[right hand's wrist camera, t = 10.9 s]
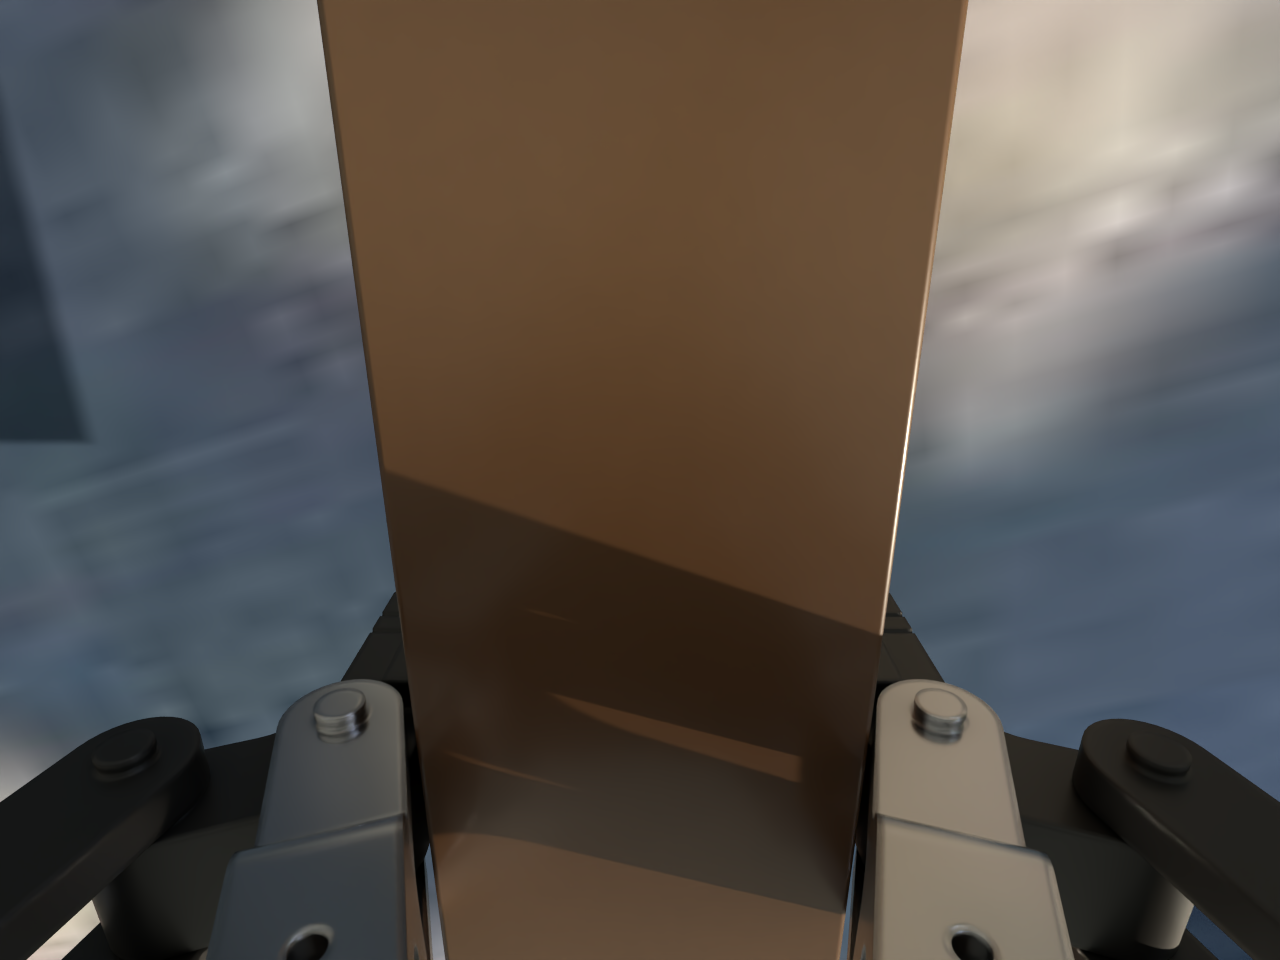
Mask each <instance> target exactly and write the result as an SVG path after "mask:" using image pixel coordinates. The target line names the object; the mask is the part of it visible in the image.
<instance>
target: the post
mask: <svg viewBox="0 0 1280 960" xmlns="http://www.w3.org/2000/svg"><path fill="white" fill-rule="evenodd" d="M317 5H318V12H319V20H320V27H321V35H322V42H323V50H324V57H325V65H326V72H327V79H328V87H329V94H330V102H331V109H332V117H333V124H334V132H335V139H336V147H337V154H338V162H339V169H340V176H341V184H342V191H343V199H344V206H345V214H346V221H347V229H348V236H349V244H350V251H351V258H352V266H353V273H354V281H355V288H356V296H357V303H358V311H359V318H360V326H361V333H362V341H363V348H364V355H365V363H366V370H367V378H368V385H369V393H370V400H371V408H372V415H373V423H374V430H375V437H376V445H377V452H378V460H379V467H380V475H381V482H382V490H383V497H384V505H385V512H386V520H387V527H388V534H389V542H390V549H391V557H392V564H393V572H394V579H395V587H396V594H397V602H398V609H399V617H400V624H401V631H402V639H403V646H404V654H405V661H406V669H407V676H408V684H409V691H410V699H411V706H412V713H413V721H414V728H415V736H416V743H417V751H418V758H419V766H420V773H421V781H422V788H423V796H424V803H425V810H426V818H427V825H428V833H429V840H430V848H431V855H432V863H433V870H434V878H435V885H436V892H437V900H438V907H439V915H440V922H441V930H442V937H443V945H444V952H445V960H839V958H840V951H841V943H842V936H843V929H844V921H845V914H846V906H847V899H848V891H849V884H850V877H851V869H852V862H853V854H854V847H855V839H856V832H857V825H858V817H859V810H860V802H861V795H862V787H863V780H864V773H865V765H866V758H867V750H868V743H869V735H870V728H871V721H872V713H873V706H874V698H875V691H876V683H877V676H878V669H879V661H880V654H881V646H882V639H883V631H884V624H885V617H886V609H887V602H888V594H889V587H890V579H891V572H892V565H893V557H894V550H895V542H896V535H897V527H898V520H899V512H900V505H901V498H902V490H903V483H904V475H905V468H906V460H907V453H908V446H909V438H910V431H911V423H912V416H913V408H914V401H915V394H916V386H917V379H918V371H919V364H920V356H921V349H922V342H923V334H924V327H925V319H926V312H927V304H928V297H929V290H930V282H931V275H932V267H933V260H934V252H935V245H936V238H937V230H938V223H939V215H940V208H941V200H942V193H943V186H944V178H945V171H946V163H947V156H948V148H949V141H950V134H951V126H952V119H953V111H954V104H955V96H956V89H957V82H958V74H959V67H960V59H961V52H962V44H963V37H964V30H965V22H966V15H967V7H968V0H317Z"/></svg>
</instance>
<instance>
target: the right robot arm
mask: <svg viewBox="0 0 1280 960" xmlns="http://www.w3.org/2000/svg"><path fill="white" fill-rule="evenodd" d="M382 613H383V615H382V616H380V617H379V619H378V621H377V622H376V624H375V625H374V627H373V632H372V633H370V634H369V635H368V637H367V639H366V640H365V642H364V644H363V645H362V647H361V649H360V650H359V652H358V654H357V655H356V657H355V659H354V660H353V662H352V663H351V665H350V667H349V668H348V670H347V672H346V673H345V675H344V677H343V678H342V680H341V682H337V683H333V684H330V685H326V686H323V687H321V688H319V689H316V690H314V691H312V692H310V693H308V694H307V695H305V696H303V697H302V698H300V699H299V700H297V701H296V702H295V703H294V704H293V705H291V706H290V707H289V708H288V709H287V711H286V712H285V713H284V714H283V716H282V717H281V719H280V721H279V723H278V726H277V730H276V733H274V734H271V735H268V736H264V737H260V738H256V739H252V740H247V741H242V742H238V743H233V744H228V745H224V746H219V747H214V748H210V749H205V750H204V746H203V743H202V739H201V735H200V732H199V730H198V728H197V727H196V726H195V725H194V724H193V723H191V722H190V721H188V720H185V719H182V718H176V717H154V718H147V719H141V720H137V721H133V722H130V723H126V724H123V725H120V726H118V727H115V728H112V729H110V730H108V731H105V732H103V733H101V734H99V735H97V736H95V737H94V738H92V739H90V740H88V741H87V742H85V743H84V744H82V745H80V746H79V747H77V748H76V749H75V750H73V751H72V752H70V753H69V754H68V755H66V756H65V757H63V758H62V759H61V760H59V761H58V762H56V763H55V764H54V765H52V766H51V767H49V768H48V769H46V770H45V771H44V772H42V773H41V774H39V775H38V776H37V777H35V778H34V779H32V780H31V781H30V782H28V783H27V784H25V785H24V786H23V787H21V788H20V789H18V790H17V791H15V792H14V793H13V794H11V795H10V796H8V797H7V798H6V799H4V800H3V801H1V802H0V960H27V959H28V958H29V957H30V956H31V955H32V954H33V953H34V952H35V951H36V950H38V949H39V948H40V947H41V946H42V945H43V944H44V943H45V942H46V941H47V940H48V939H49V938H51V937H52V936H53V935H54V934H55V933H56V932H57V931H58V930H59V929H60V928H61V927H63V926H64V925H65V924H66V923H67V922H68V921H69V920H70V919H71V918H72V917H73V916H74V915H76V914H77V913H78V912H79V911H80V910H81V909H82V908H83V907H84V906H85V905H86V904H88V903H89V902H90V901H91V900H92V901H93V904H94V906H95V909H96V912H97V914H98V917H99V920H100V923H99V924H98V925H97V926H96V927H95V928H94V929H93V930H92V931H91V932H90V933H89V934H88V935H87V936H86V937H85V938H84V939H83V940H82V941H80V942H79V943H78V944H77V945H76V946H75V947H74V948H73V949H72V950H71V951H70V952H69V953H68V954H67V955H66V956H65V957H64V958H63V959H62V960H433V952H432V938H431V923H430V908H429V893H428V878H427V869H426V862H425V855H426V853H427V850H428V846H429V843H430V840H429V833H428V825H427V818H426V810H425V803H424V796H423V788H422V781H421V773H420V766H419V758H418V751H417V743H416V736H415V728H414V721H413V713H412V706H411V699H410V691H409V684H408V676H407V669H406V661H405V654H404V646H403V639H402V631H401V624H400V617H399V609H398V602H397V594H396V592H395V593H394V594H393V596H392V597H391V599H390V601H389V602H388V604H387V606H386V607H385V609H384V611H383V612H382ZM855 843H856V846H857V848H856V855H855V862H854V869H853V878H852V893H851V908H850V923H849V938H848V952H847V960H1218V959H1217V958H1216V957H1215V956H1214V955H1213V954H1212V953H1211V952H1210V951H1209V950H1208V949H1207V948H1206V947H1205V946H1204V945H1203V944H1202V943H1201V942H1200V941H1198V940H1197V939H1196V938H1195V937H1194V936H1193V935H1192V934H1191V933H1190V932H1189V931H1188V930H1187V929H1186V928H1185V927H1186V925H1187V922H1188V920H1189V917H1190V914H1191V912H1192V909H1193V906H1194V905H1195V906H1196V907H1197V908H1198V909H1199V910H1200V911H1201V912H1202V913H1203V914H1204V915H1206V916H1207V917H1208V918H1209V919H1210V920H1211V921H1212V922H1213V923H1214V924H1215V925H1216V926H1217V927H1219V928H1220V929H1221V930H1222V931H1223V932H1224V933H1225V934H1226V935H1227V936H1228V937H1229V938H1231V939H1232V940H1233V941H1234V942H1235V943H1236V944H1237V945H1238V946H1239V947H1240V948H1241V949H1243V950H1244V951H1245V952H1246V953H1247V954H1248V955H1249V956H1250V957H1251V958H1252V959H1253V960H1280V802H1279V801H1277V800H1276V799H1274V798H1273V797H1272V796H1270V795H1269V794H1267V793H1266V792H1265V791H1263V790H1262V789H1260V788H1259V787H1257V786H1256V785H1255V784H1253V783H1252V782H1250V781H1249V780H1248V779H1246V778H1245V777H1243V776H1242V775H1241V774H1239V773H1238V772H1236V771H1235V770H1234V769H1232V768H1231V767H1229V766H1228V765H1226V764H1225V763H1224V762H1222V761H1221V760H1219V759H1218V758H1217V757H1215V756H1214V755H1212V754H1211V753H1210V752H1208V751H1207V750H1205V749H1204V748H1202V747H1201V746H1199V745H1198V744H1196V743H1195V742H1193V741H1191V740H1189V739H1187V738H1185V737H1184V736H1182V735H1179V734H1177V733H1175V732H1173V731H1170V730H1168V729H1165V728H1162V727H1159V726H1157V725H1153V724H1149V723H1146V722H1141V721H1136V720H1128V719H1108V720H1101V721H1098V722H1095V723H1093V724H1092V725H1090V726H1089V727H1088V728H1087V729H1086V730H1085V731H1084V734H1083V736H1082V740H1081V744H1080V747H1079V750H1076V749H1071V748H1066V747H1062V746H1057V745H1052V744H1048V743H1043V742H1038V741H1034V740H1029V739H1025V738H1021V737H1017V736H1014V735H1011V734H1008V733H1005V732H1004V730H1003V726H1002V723H1001V721H1000V719H999V717H998V716H997V714H996V713H995V712H994V711H993V709H992V708H991V707H990V706H989V705H987V704H986V703H985V702H984V701H983V700H981V699H980V698H978V697H977V696H975V695H973V694H972V693H970V692H968V691H966V690H964V689H961V688H959V687H957V686H954V685H950V684H947V683H945V682H944V680H943V679H942V677H941V675H940V674H939V672H938V671H937V669H936V667H935V666H934V664H933V662H932V661H931V659H930V658H929V656H928V654H927V653H926V651H925V649H924V648H923V646H922V645H921V643H920V641H919V640H918V638H917V636H916V635H915V633H912V628H911V627H910V625H909V623H908V622H907V620H906V619H905V617H902V612H901V610H900V609H899V607H898V606H897V604H896V602H895V601H894V599H893V597H892V596H891V594H890V593H889V594H888V602H887V609H886V617H885V624H884V631H883V639H882V646H881V654H880V661H879V669H878V676H877V683H876V691H875V698H874V706H873V713H872V721H871V728H870V735H869V743H868V750H867V758H866V765H865V773H864V780H863V787H862V795H861V802H860V810H859V817H858V825H857V832H856V839H855Z"/></svg>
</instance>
